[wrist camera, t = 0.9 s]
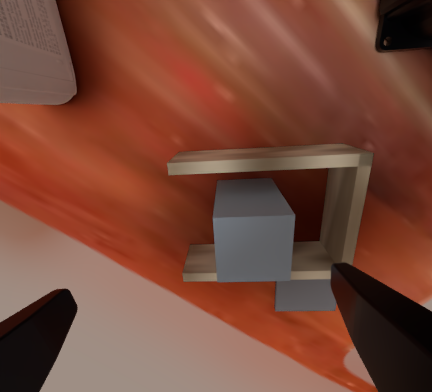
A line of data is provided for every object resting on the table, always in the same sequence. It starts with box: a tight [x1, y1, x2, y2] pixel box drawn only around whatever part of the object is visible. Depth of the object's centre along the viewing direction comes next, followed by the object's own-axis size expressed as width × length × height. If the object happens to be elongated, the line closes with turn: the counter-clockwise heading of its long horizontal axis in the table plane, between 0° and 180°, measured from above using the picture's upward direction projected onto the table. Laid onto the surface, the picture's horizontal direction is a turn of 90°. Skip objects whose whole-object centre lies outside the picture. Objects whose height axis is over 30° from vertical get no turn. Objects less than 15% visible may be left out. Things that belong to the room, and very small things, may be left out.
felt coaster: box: [275, 279, 336, 311], centre depth 22 cm, size 6×6×1 cm
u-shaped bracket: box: [167, 143, 374, 282], centre depth 18 cm, size 13×10×4 cm
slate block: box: [213, 178, 295, 282], centre depth 16 cm, size 4×4×7 cm
